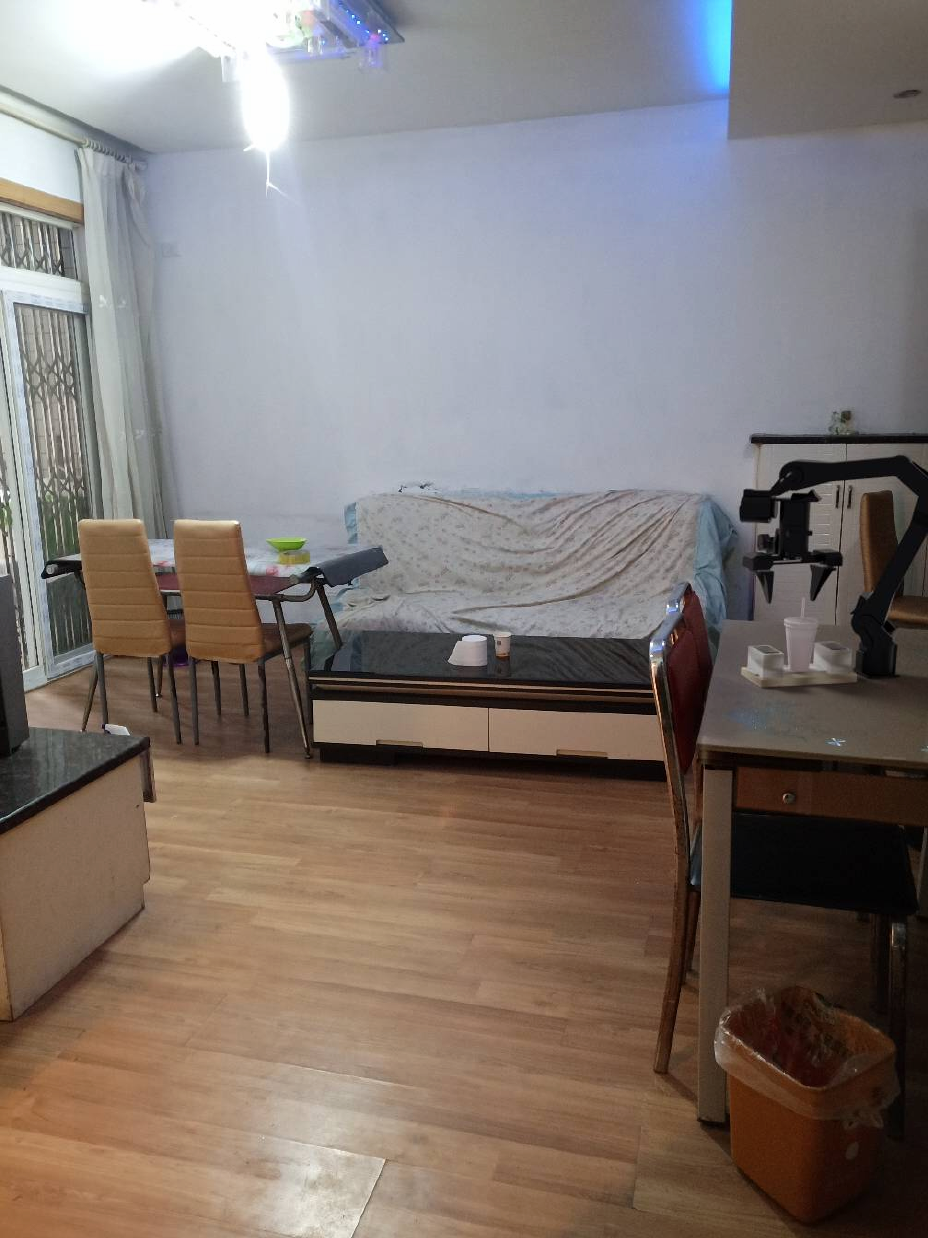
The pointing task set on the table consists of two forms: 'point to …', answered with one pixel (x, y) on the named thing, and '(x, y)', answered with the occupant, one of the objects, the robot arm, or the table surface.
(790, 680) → the board
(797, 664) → the smoothie
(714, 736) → the table surface
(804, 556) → the robot arm
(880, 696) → the table surface
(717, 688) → the table surface
